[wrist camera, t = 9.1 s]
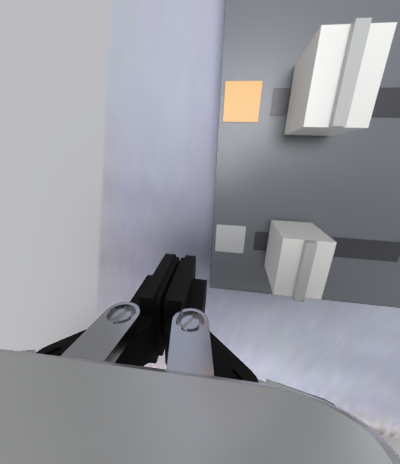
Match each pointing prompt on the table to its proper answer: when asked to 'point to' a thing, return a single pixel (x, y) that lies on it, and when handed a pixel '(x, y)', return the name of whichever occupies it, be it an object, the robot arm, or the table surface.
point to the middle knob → (338, 78)
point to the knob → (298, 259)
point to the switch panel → (304, 156)
